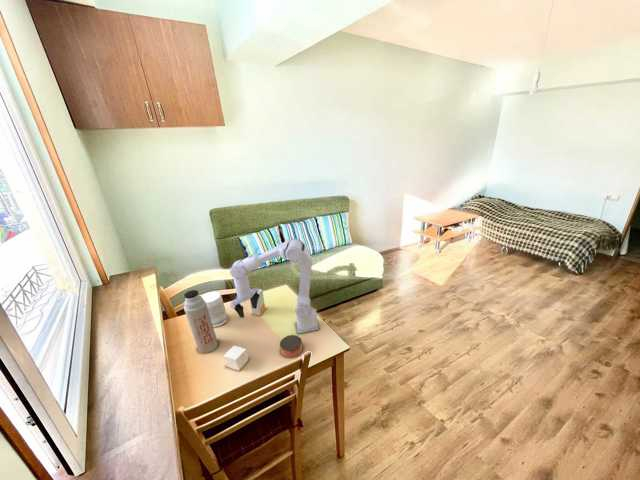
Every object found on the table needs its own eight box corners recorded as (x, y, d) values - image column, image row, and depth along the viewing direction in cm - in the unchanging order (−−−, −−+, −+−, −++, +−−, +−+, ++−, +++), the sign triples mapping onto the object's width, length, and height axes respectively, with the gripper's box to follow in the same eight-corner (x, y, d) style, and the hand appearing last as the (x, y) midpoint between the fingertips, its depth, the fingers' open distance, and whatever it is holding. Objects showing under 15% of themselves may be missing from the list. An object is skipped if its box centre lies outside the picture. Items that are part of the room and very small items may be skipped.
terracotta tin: (300, 340, 125) (300, 333, 123) (304, 354, 117) (303, 347, 115) (280, 344, 123) (279, 337, 121) (281, 359, 115) (280, 352, 113)
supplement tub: (231, 316, 140) (225, 292, 133) (220, 328, 132) (213, 303, 125) (214, 314, 142) (207, 290, 135) (202, 326, 134) (194, 301, 127)
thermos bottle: (218, 348, 121) (202, 295, 108) (198, 355, 117) (179, 301, 104) (217, 337, 127) (201, 285, 114) (197, 343, 124) (179, 290, 111)
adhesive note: (238, 370, 110) (235, 359, 107) (226, 366, 112) (223, 355, 109) (248, 359, 115) (246, 348, 112) (236, 355, 117) (234, 345, 114)
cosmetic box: (260, 315, 141) (256, 296, 135) (252, 314, 142) (248, 295, 136) (265, 308, 146) (262, 289, 141) (258, 307, 147) (254, 288, 141)
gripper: (248, 277, 128) (253, 301, 134) (222, 293, 116) (229, 318, 123) (260, 281, 125) (264, 305, 131) (234, 297, 113) (240, 323, 120)
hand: (248, 312), depth 127 cm, fingers open, 7 cm apart
